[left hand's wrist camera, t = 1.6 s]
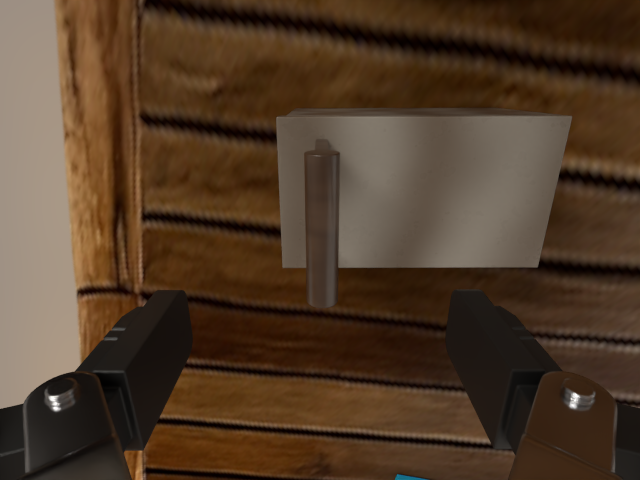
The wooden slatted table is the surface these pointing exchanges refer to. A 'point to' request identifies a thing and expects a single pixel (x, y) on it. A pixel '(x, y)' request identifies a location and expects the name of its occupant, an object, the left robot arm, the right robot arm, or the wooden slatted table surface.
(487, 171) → the lid
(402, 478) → the model building
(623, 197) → the wooden slatted table surface
